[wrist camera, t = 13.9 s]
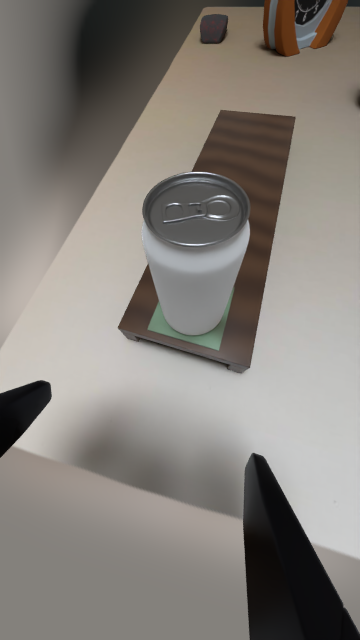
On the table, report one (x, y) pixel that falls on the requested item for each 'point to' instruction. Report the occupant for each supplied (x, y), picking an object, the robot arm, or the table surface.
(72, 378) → the table surface
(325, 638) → the robot arm
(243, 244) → the can
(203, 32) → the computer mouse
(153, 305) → the shelf
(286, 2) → the alarm clock
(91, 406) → the table surface
